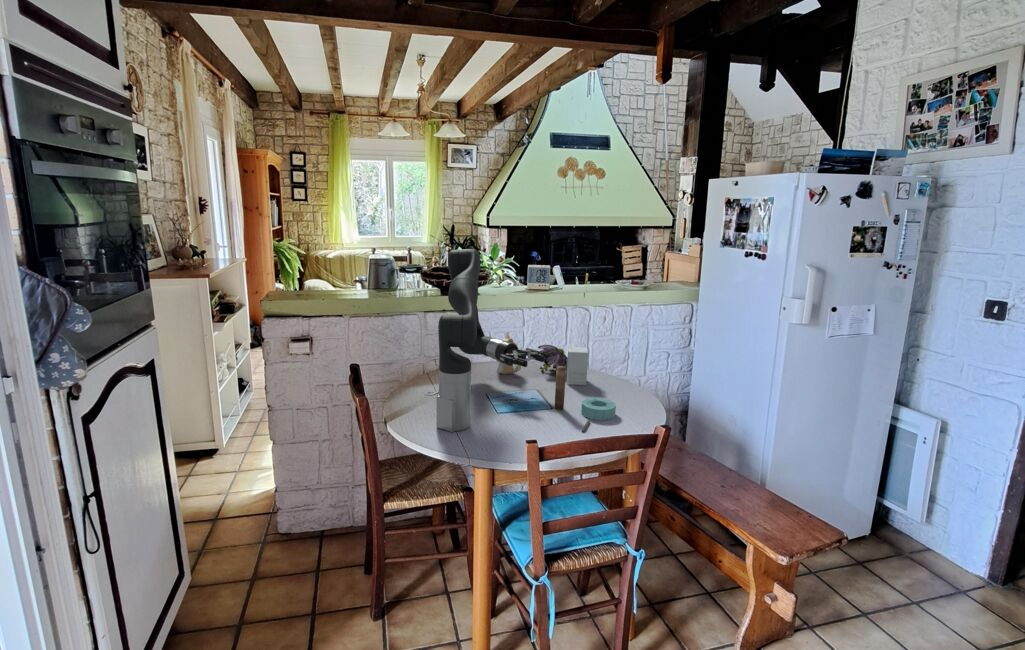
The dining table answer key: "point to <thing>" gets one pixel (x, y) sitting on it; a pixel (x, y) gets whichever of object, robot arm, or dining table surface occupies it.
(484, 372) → the dining table surface
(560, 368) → the brown wooden rod
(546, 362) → the decorative flower
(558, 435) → the dining table surface
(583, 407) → the teal ring
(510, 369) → the kitten
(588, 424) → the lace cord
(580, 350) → the supplement box
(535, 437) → the dining table surface
